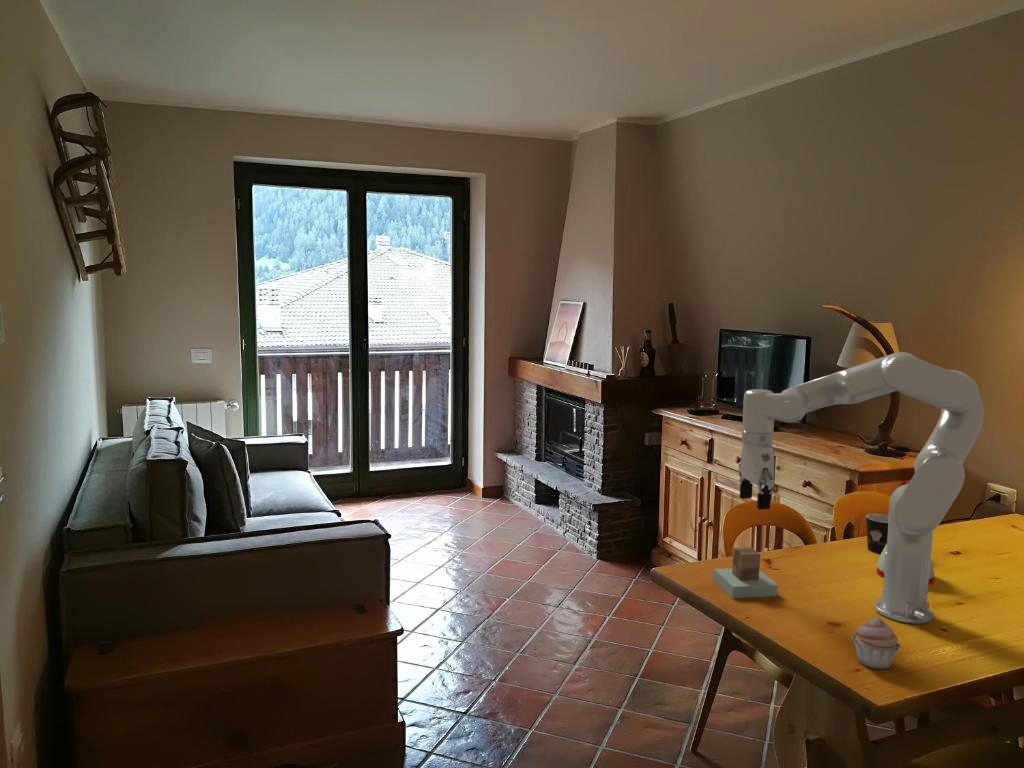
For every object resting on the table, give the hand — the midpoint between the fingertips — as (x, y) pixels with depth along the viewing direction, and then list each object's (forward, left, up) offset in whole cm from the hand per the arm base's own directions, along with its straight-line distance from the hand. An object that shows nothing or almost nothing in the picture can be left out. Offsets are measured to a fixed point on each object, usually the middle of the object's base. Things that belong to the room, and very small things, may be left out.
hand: (754, 503), depth 194 cm
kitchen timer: (+3, -47, -23) cm, 52 cm away
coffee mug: (+21, -52, -23) cm, 61 cm away
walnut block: (0, +1, -20) cm, 20 cm away
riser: (0, +1, -23) cm, 23 cm away
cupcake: (-41, -9, -23) cm, 47 cm away
